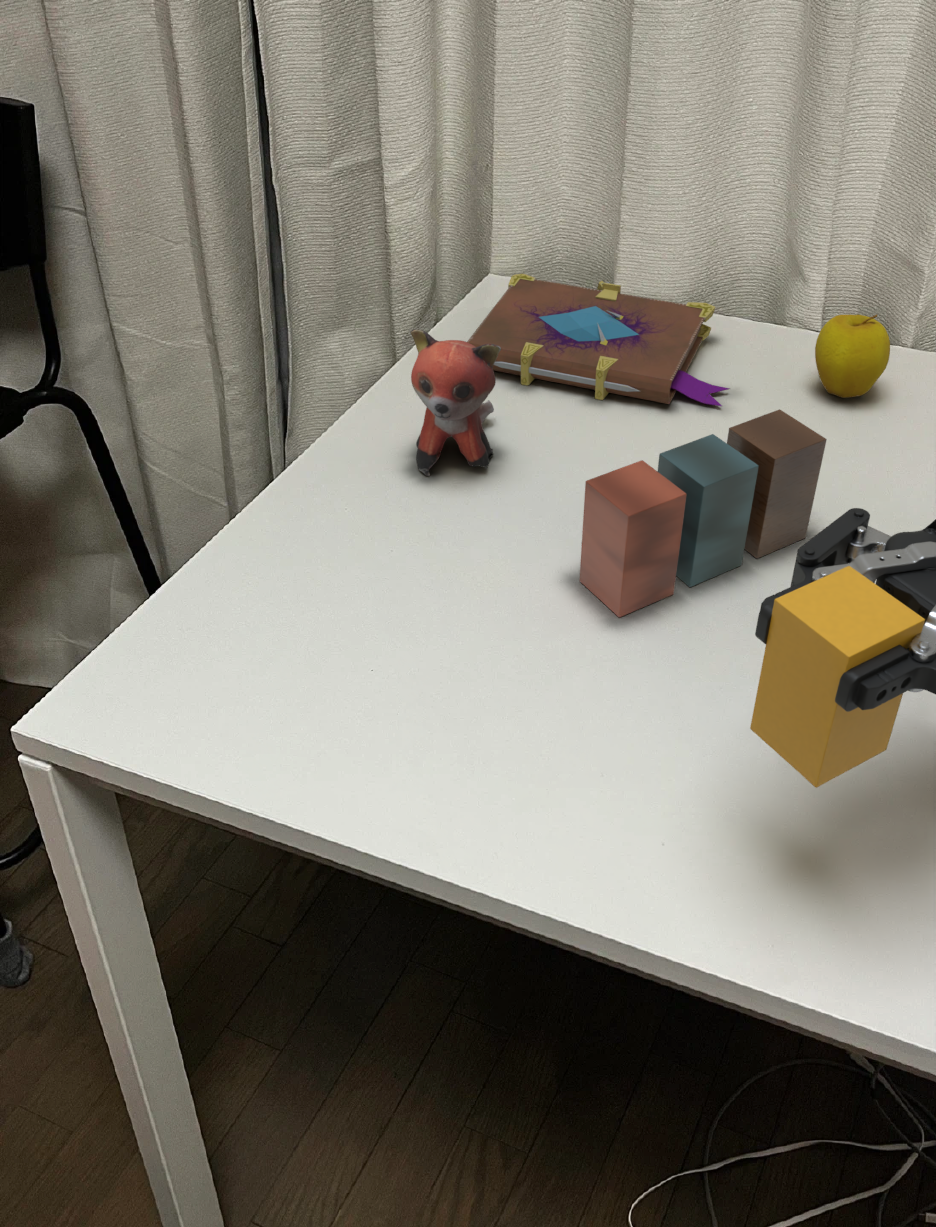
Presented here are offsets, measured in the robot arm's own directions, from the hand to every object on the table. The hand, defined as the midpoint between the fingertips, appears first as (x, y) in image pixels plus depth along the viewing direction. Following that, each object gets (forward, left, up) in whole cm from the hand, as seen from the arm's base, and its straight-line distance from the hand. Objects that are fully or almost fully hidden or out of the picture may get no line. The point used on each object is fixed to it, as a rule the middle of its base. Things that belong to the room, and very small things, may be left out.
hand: (802, 659), depth 58 cm
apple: (0, -57, -17) cm, 60 cm away
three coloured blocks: (+9, -28, -17) cm, 34 cm away
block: (-2, -2, -7) cm, 7 cm away
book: (+22, -57, -17) cm, 64 cm away
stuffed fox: (+30, -37, -17) cm, 51 cm away
